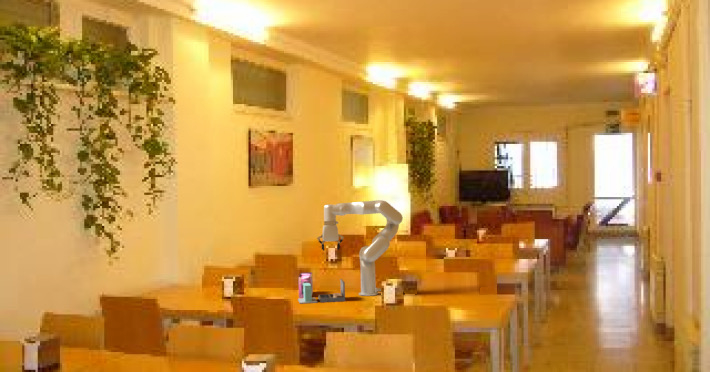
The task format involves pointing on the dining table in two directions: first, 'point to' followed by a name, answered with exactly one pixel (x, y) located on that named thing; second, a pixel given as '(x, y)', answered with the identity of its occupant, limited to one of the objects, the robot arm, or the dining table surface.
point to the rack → (330, 297)
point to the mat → (307, 302)
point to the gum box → (304, 279)
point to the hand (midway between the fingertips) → (330, 250)
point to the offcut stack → (337, 295)
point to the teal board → (307, 292)
